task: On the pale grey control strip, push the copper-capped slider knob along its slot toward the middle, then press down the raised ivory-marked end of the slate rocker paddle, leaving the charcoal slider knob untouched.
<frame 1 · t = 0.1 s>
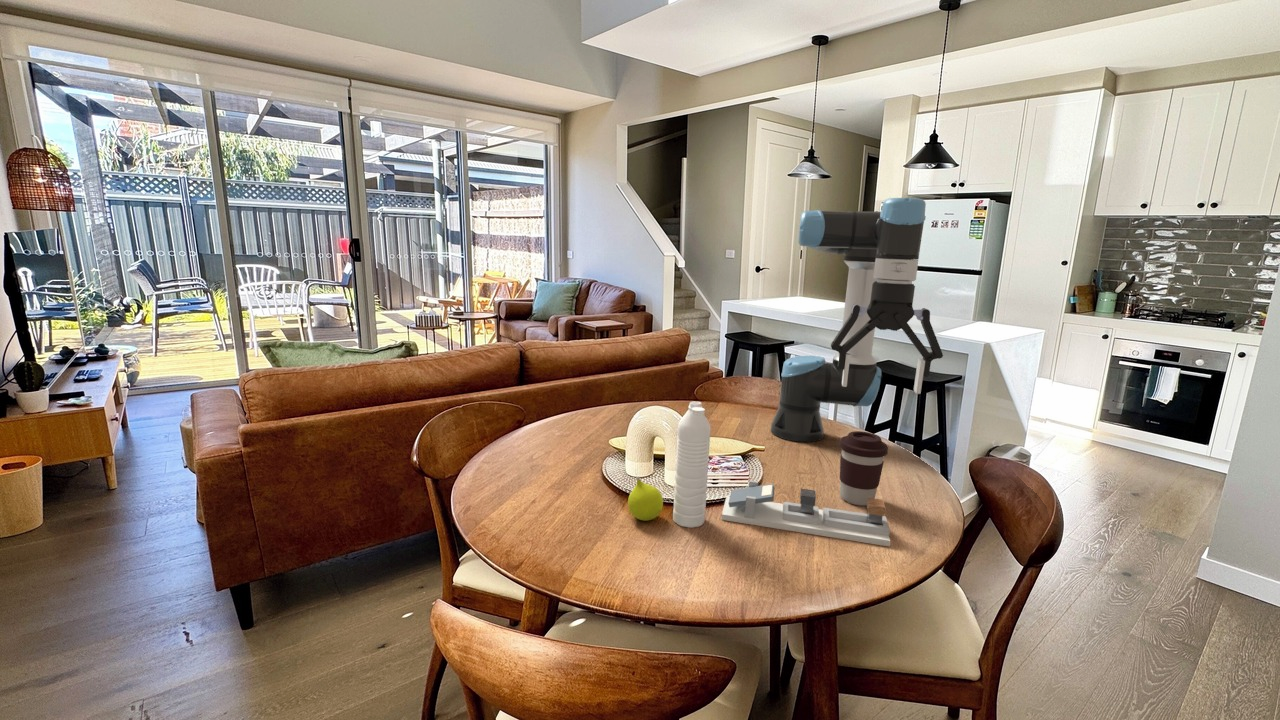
hand: (879, 388, 112), 28 cm above the table, fingers open, 13 cm apart
coffee cup: (856, 500, 126), on the table
water bottle: (689, 523, 113), on the table
panel: (802, 521, 115), on the table
slider a: (874, 514, 111), point 4 cm above the table, slide at 0.0 cm
slider b: (807, 504, 114), point 4 cm above the table, slide at 0.0 cm
ornament: (644, 519, 114), on the table
rocker: (751, 495, 117), point 4 cm above the table, hinge at 18.0°
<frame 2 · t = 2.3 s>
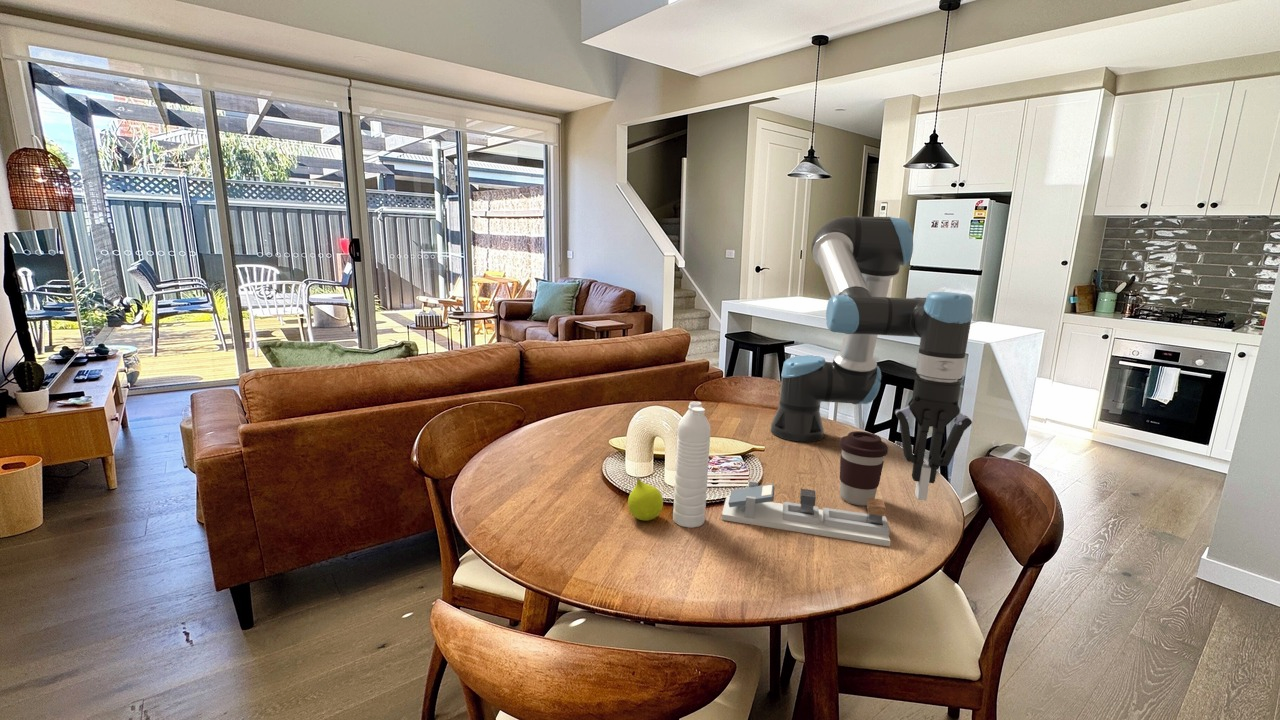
hand: (920, 497, 107), 9 cm above the table, fingers closed
nothing on the table moved.
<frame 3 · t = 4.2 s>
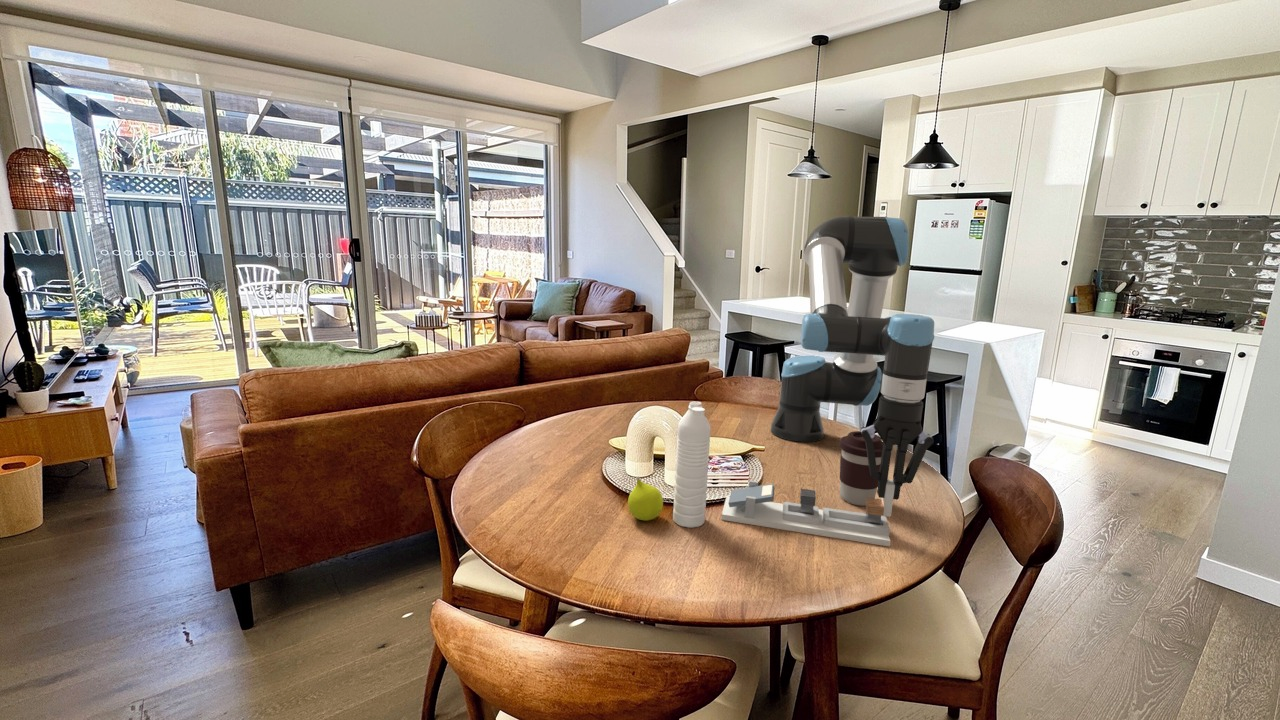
hand: (885, 512, 110), 5 cm above the table, fingers closed
slider a: (873, 514, 111), point 4 cm above the table, slide at 0.3 cm, touching gripper
everything else where it was.
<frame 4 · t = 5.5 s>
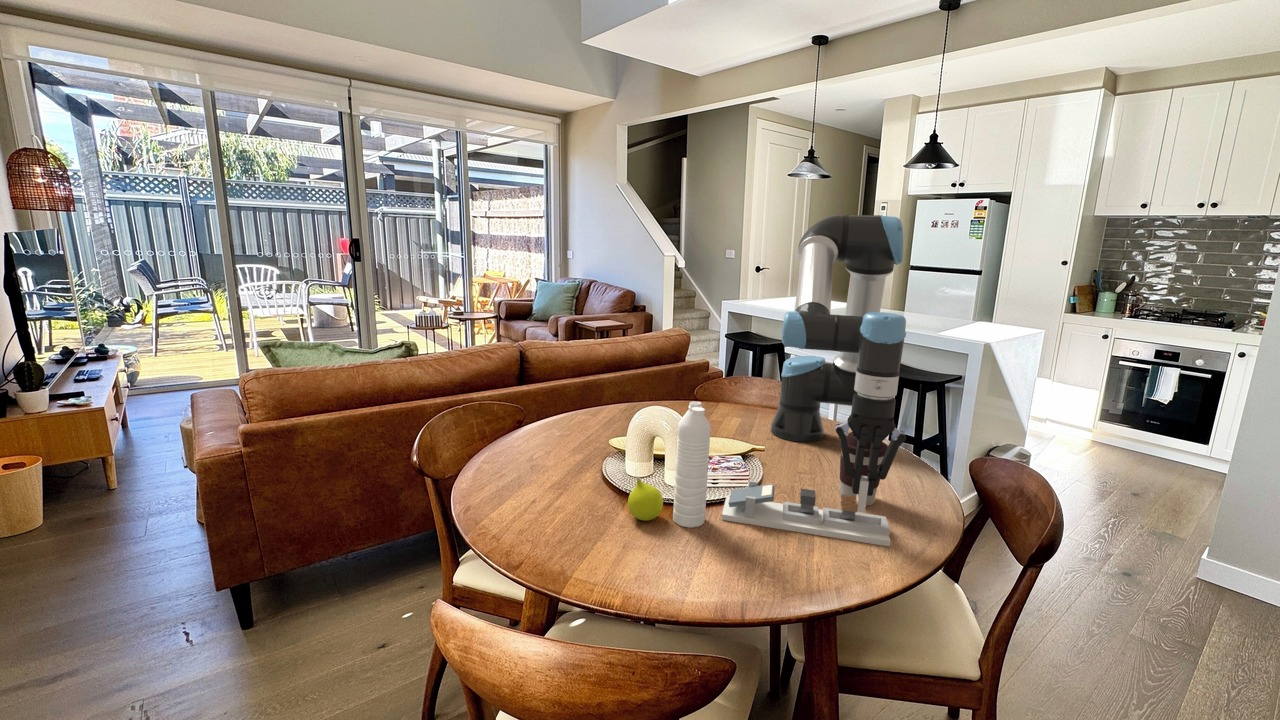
hand: (860, 508, 111), 5 cm above the table, fingers closed
slider a: (848, 510, 112), point 4 cm above the table, slide at 5.0 cm, touching gripper
everything else where it was.
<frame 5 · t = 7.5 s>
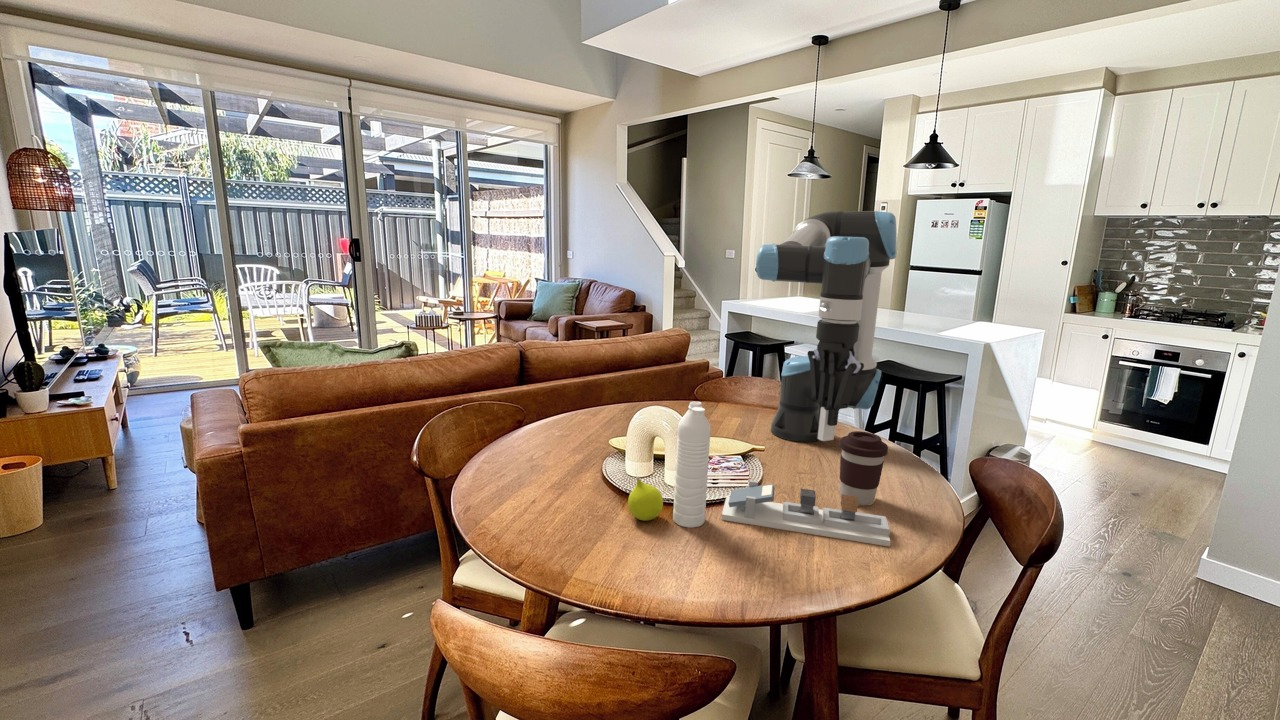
hand: (825, 439, 110), 18 cm above the table, fingers closed
slider a: (848, 510, 112), point 4 cm above the table, slide at 5.0 cm
everything else where it was.
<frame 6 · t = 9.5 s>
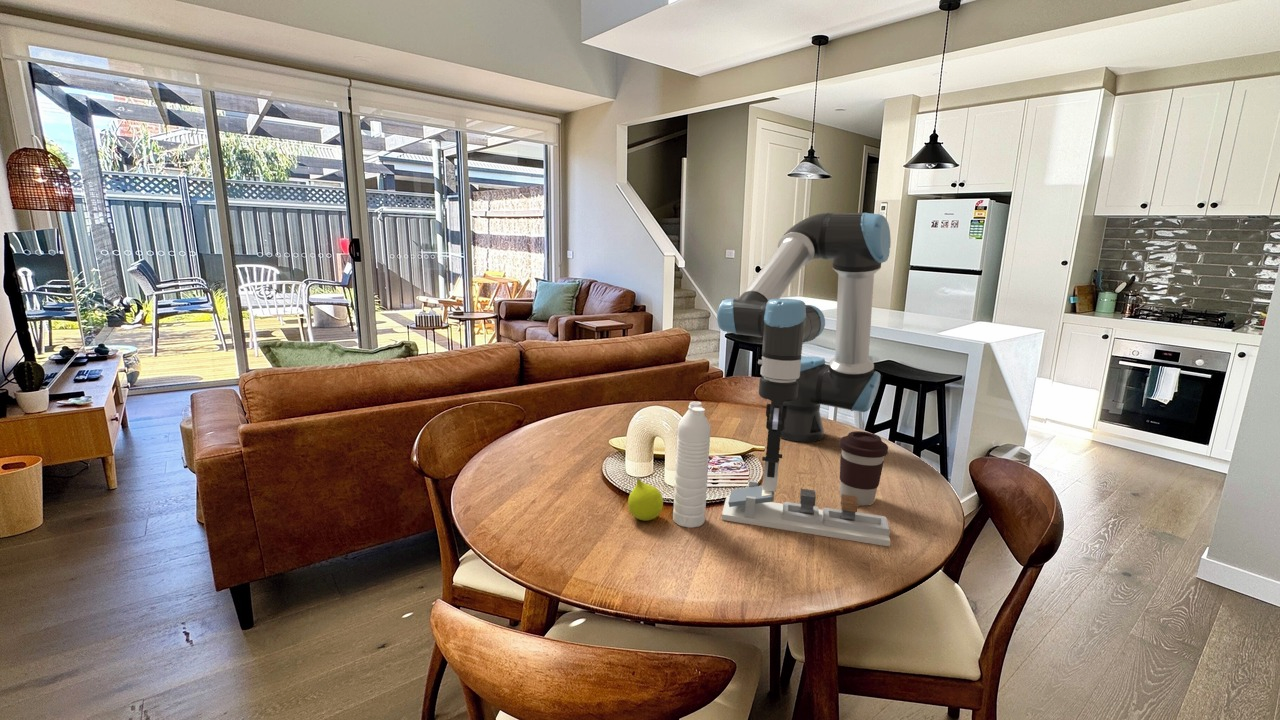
hand: (769, 489, 115), 6 cm above the table, fingers closed
rocker: (751, 495, 117), point 4 cm above the table, hinge at 17.0°, touching gripper
everything else where it was.
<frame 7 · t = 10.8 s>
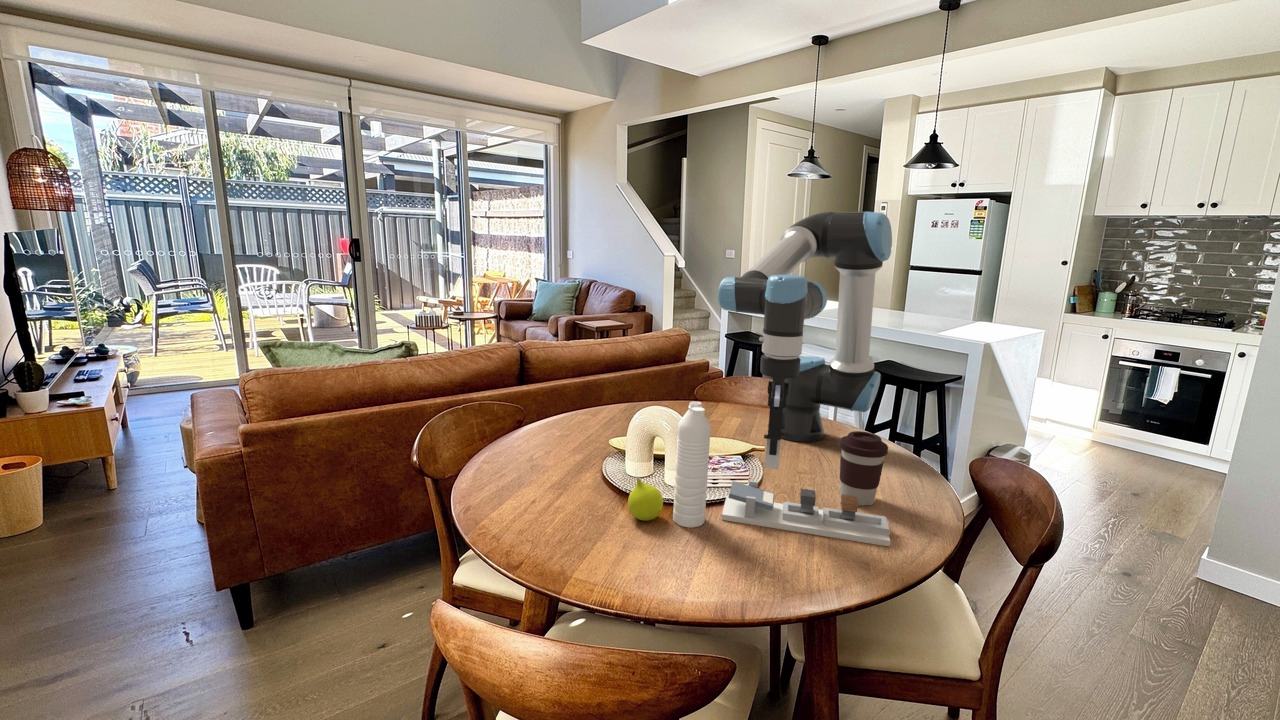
hand: (771, 467, 115), 11 cm above the table, fingers closed
rocker: (751, 495, 117), point 4 cm above the table, hinge at -8.9°
everything else where it was.
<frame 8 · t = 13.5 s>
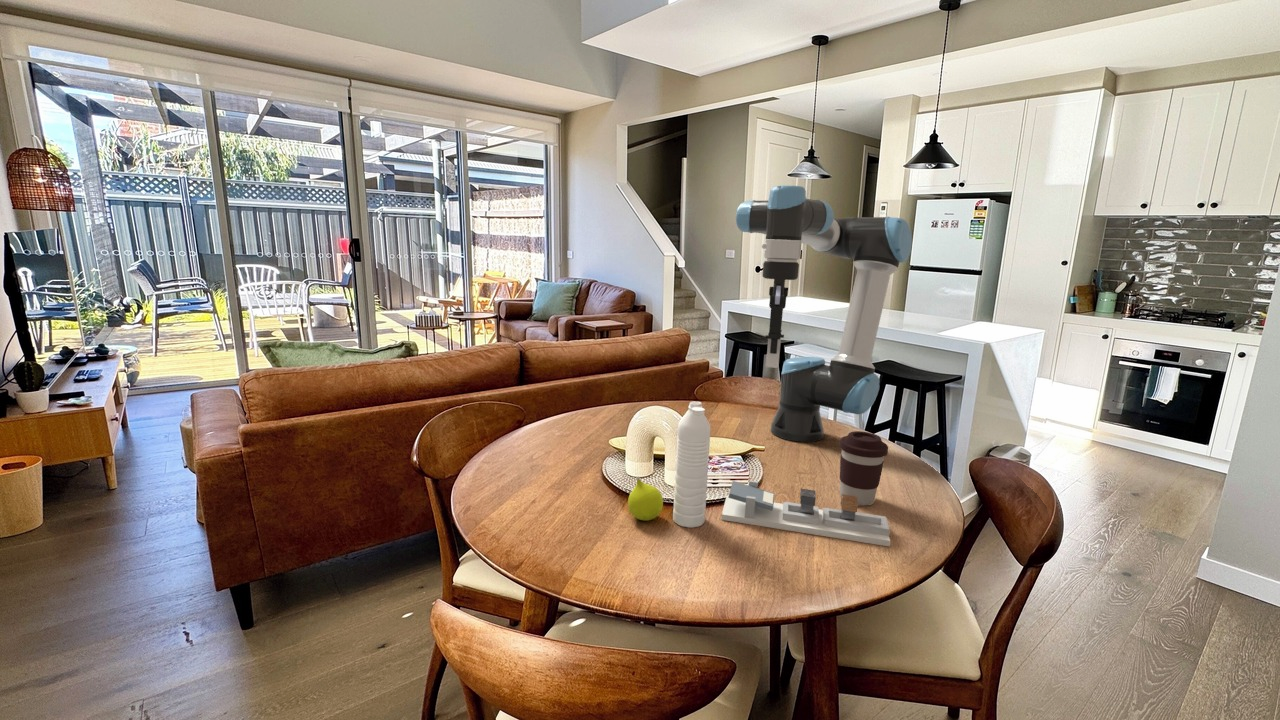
hand: (772, 366, 126), 28 cm above the table, fingers closed
rocker: (751, 495, 117), point 4 cm above the table, hinge at -9.4°
everything else where it was.
at the end: slider a slide at 5.0 cm; rocker at -9° (first picture: +18°); slider b slide at 0.0 cm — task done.
